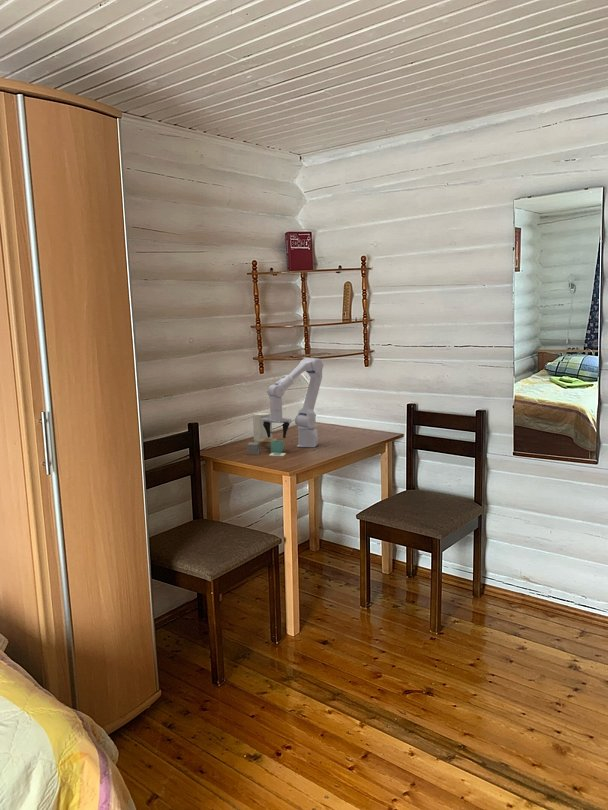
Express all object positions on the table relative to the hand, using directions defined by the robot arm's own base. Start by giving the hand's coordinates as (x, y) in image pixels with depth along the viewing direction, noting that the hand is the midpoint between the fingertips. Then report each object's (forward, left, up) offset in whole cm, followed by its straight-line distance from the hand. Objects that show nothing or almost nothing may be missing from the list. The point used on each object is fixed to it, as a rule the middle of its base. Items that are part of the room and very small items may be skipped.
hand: (276, 437), depth 318 cm
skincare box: (+13, -20, -7) cm, 25 cm away
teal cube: (0, 0, -7) cm, 7 cm away
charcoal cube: (+10, +6, -7) cm, 13 cm away
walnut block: (+7, -8, -7) cm, 13 cm away
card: (-2, +7, -7) cm, 10 cm away
